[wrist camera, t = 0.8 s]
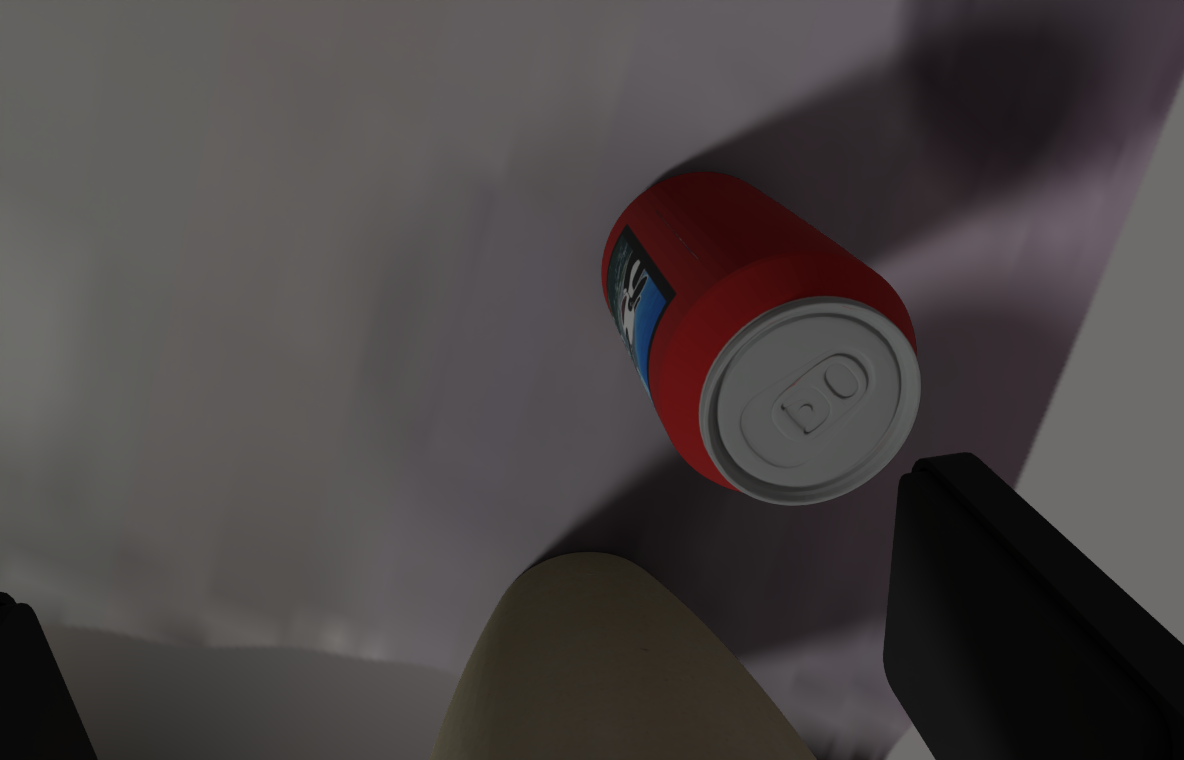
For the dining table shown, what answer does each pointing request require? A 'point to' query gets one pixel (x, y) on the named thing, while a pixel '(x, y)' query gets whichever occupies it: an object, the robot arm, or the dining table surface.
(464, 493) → the dining table surface
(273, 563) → the dining table surface
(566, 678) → the plant pot
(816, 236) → the beverage can
